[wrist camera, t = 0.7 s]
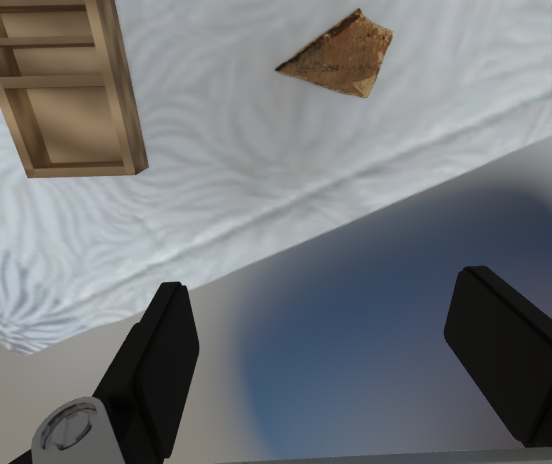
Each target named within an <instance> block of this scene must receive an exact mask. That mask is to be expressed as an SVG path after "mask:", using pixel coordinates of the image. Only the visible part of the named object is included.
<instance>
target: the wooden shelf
mask: <svg viewBox="0 0 552 464" xmlns="http://www.w3.org/2000/svg"><path fill="white" fill-rule="evenodd" d="M0 107H1V110H2V113H3V115H4V118H5V120H6V123H7V125H8V128H9V131H10V133H11V136H12V138H13V141H14V144H15V146H16V149H17V151H18V154H19V157H20V159H21V162H22V164H23V167H24V170H25V172H26V175H27V177H28V178H52V177H87V176H122V175H136V174H138V173H140V172H141V171H143V170H145V169H146V168H148V167H149V166H148V161H147V156H146V151H145V147H144V142H143V137H142V132H141V127H140V122H139V118H138V113H137V108H136V103H135V98H134V93H133V89H132V84H131V79H130V74H129V69H128V64H127V60H126V55H125V50H124V45H123V40H122V35H121V31H120V26H119V21H118V16H117V11H116V6H115V2H114V0H0Z"/></svg>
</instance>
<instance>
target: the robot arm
mask: <svg viewBox="0 0 552 464" xmlns="http://www.w3.org/2000/svg"><path fill="white" fill-rule="evenodd" d="M444 337H445V340H446V342H447V343H448V345H449V346H450V348H451V349H452V350H453V352H454V353H455V355H456V356H457V358H458V359H459V360H460V362H461V363H462V364H463V366H464V367H465V369H466V370H467V372H468V373H469V374H470V376H471V377H472V379H473V380H474V382H475V383H476V385H477V386H478V387H479V389H480V390H481V392H482V393H483V395H484V396H485V397H486V399H487V400H488V402H489V403H490V405H491V406H492V407H493V409H494V410H495V412H496V413H497V415H498V416H499V417H500V419H501V420H502V422H503V423H504V425H505V426H506V427H507V429H508V430H509V432H510V433H511V434H512V436H513V437H514V438H515V439H516V440H518V441H521V442H522V444H523V445H524V446H525V448H516V449H493V450H470V451H469V450H468V451H446V452H424V453H402V454H383V455H361V456H343V457H342V456H341V457H324V458H323V457H322V458H303V459H284V460H266V461H248V462H231V463H218V464H552V319H551V318H549V317H548V316H547V315H546V314H544V313H543V312H542V311H541V310H539V309H538V308H537V307H536V306H535V305H533V304H532V303H531V302H530V301H528V300H527V299H526V298H525V297H524V296H522V295H521V294H520V293H519V292H517V291H516V290H515V289H514V288H512V287H511V286H510V285H509V284H508V283H506V282H505V281H504V280H503V279H501V278H500V277H499V276H498V275H496V274H495V273H494V272H492V271H491V270H490V269H489V268H488V267H486V266H467V267H465V268H464V269H463V270H462V271H460V272H459V274H458V276H457V280H456V284H455V288H454V292H453V296H452V300H451V304H450V308H449V312H448V316H447V320H446V324H445V328H444ZM198 355H199V341H198V336H197V332H196V326H195V322H194V317H193V313H192V308H191V304H190V299H189V294H188V290H187V287H186V286H185V285H184V286H182V284H181V283H180V282H163V283H162V284H161V285H160V287H159V289H158V290H157V292H156V294H155V296H154V297H153V299H152V301H151V303H150V304H149V306H148V308H147V310H146V311H145V313H144V315H143V317H142V319H141V321H140V322H139V323H136V324H135V325H134V326H133V327H132V329H131V330H130V332H129V334H128V335H127V337H126V339H125V341H124V342H123V344H122V346H121V347H120V349H119V351H118V353H117V354H116V356H115V358H114V359H113V361H112V363H111V365H110V366H109V368H108V370H107V371H106V373H105V375H104V377H103V378H102V380H101V382H100V383H99V385H98V387H97V389H96V390H95V392H94V394H93V395H92V397H82V398H77V399H74V400H72V401H70V402H68V403H65V404H64V405H62V406H61V407H59V408H58V409H56V410H55V411H53V412H52V413H51V414H50V415H49V416H48V417H47V418H46V419H45V420H44V421H43V422H42V424H41V425H40V426H39V428H38V429H37V431H36V433H35V435H34V437H33V439H32V446H31V449H30V450H28V451H27V452H25V453H24V454H22V455H21V456H19V457H18V458H16V459H15V460H13V461H12V462H10V463H9V464H163V462H164V459H165V458H169V457H170V456H171V453H172V450H173V446H174V443H175V439H176V435H177V431H178V428H179V424H180V421H181V417H182V413H183V410H184V406H185V402H186V399H187V395H188V391H189V388H190V384H191V380H192V377H193V373H194V369H195V366H196V362H197V358H198Z"/></svg>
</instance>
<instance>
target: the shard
mask: <svg viewBox="0 0 552 464" xmlns="http://www.w3.org/2000/svg"><path fill="white" fill-rule="evenodd" d="M392 38H393V32H392V31H391V30H388V29H386V28H383V27H381V26H379V25H376V24H375V23H373V22H371V21H370V20H369V19H367V18H366V17H365V16H363V14H362V12H361V10H360V8H359V9H356V10H355V11H354V12H353V13H352V14H350V15H349V16H348V17H347V18H345V19H343V20H342V21H341V22H340V23H338V24H337V25H335V26H334V27H333V28H331V29H330V30H329V31H327V32H326V33H324V34H323V35H321V36H320V37H318V38H317V39H315V40H314V41H313V42H311V43H310V44H308V45H307V46H306V47H304V48H303V49H302V50H301V51H300V52H299V53H297V54H296V55H295V56H294V57H293V58H292V59H290V60H288V61H287V62H284V63H282V64H281V65H280V66H279V67H277V68H276V69H275V71H278V72H281V73H285V74H288V75H291V76H296V77H300V78H303V79H306V80H309V81H312V82H313V83H315V84H318V85H321V86H325V87H327V88H329V89H332V90H337V91H340V92H342V93H345V94H350V95H359V96H361V97H363V98H368V96H369V94H370V92H371V89H372V87H373V85H374V83H375V81H376V79H377V75H378V73H379V70H380V66H381V64H382V62H383V59H384V56H385V53H386V51H387V48H388V47H389V45H390V43H391V41H392Z"/></svg>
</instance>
